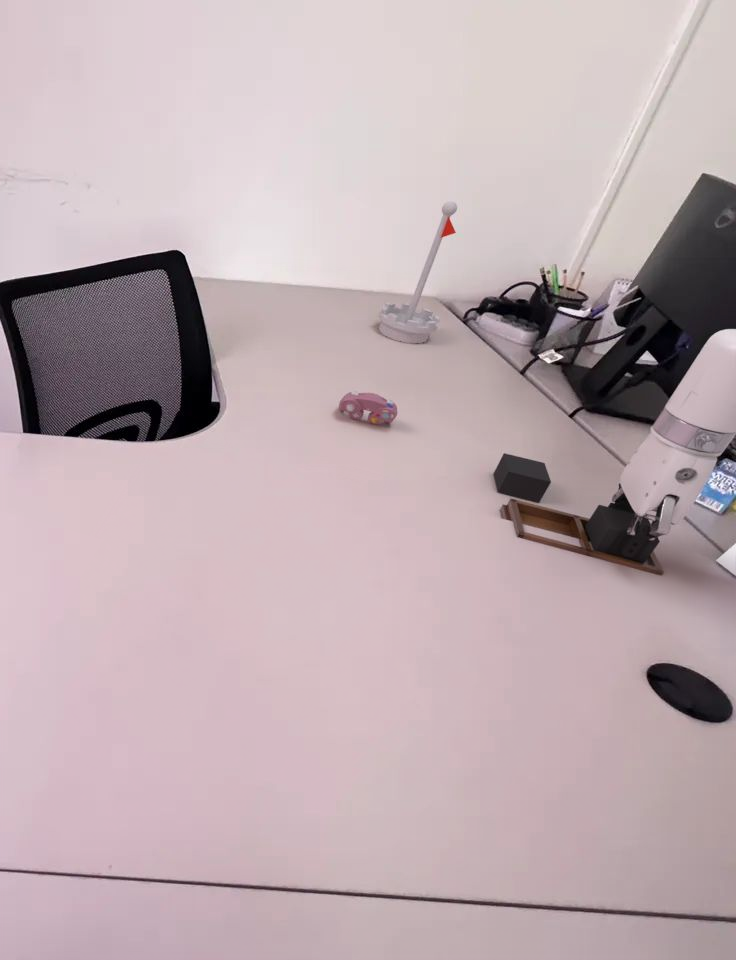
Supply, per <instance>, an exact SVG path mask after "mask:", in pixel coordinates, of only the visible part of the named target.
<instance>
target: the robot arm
mask: <svg viewBox="0 0 736 960" xmlns="http://www.w3.org/2000/svg"><path fill="white" fill-rule="evenodd" d="M649 431H650V433H649V434H648V435H647V436H646V438H645V439H643V442H642V443H641V444H640V445H639V447H638V448H637V450H636V451H635V452H634V454H633V455H632V457H631V458H630V459H629V461H628V462H627V464H626V465H625V467H624V469H623V471H622V473H621V475H620V477H619V483H618V489H617V491H616V492H615V493H614V494H613V495H612V498H611V502H609V504H608V506H607V507H610V508H614V509H618V510H622V511H626V512H630V513H634V516H633V518H632V521H631V523H630V525H629V528H628V530H623V531H622V532H621V534H620V535H619V537H618V538H617V540H616V541H615V542H614V544H613V545H612V547H611V548H610V550H609V553H610V555H613V556H617V557H621V558H624V559H628V560H632V561H636V560H637V559H638V557H639V556H640V555H641V553H642V552H643V550H644V549H645V548H646V546H647V545H648V544H649V542H650V541H653V540H654V539H655V538H657V537H658V538H659V537H662V536H667V535H668V534H669V533H670V532H671V527H672V525H673V526H677V525H679V524H680V523H681V522H682V521H683V520H684V519H685V517H686V516H687V514H688V513H689V512H690V510H691V508H692V506H693V505H694V504H695V502H696V501H697V499H698V497H699V496H700V494H701V493H702V491H703V489H704V488H705V486H706V484H707V483H708V481H709V479H710V477H711V475H712V473H713V471H714V469H715V467H716V464H717V462H718V457H720V456H721V455H722V454H723V453H724V452H725V450H726V449H727V447H728V446H729V445H730V443H732V440H733V439H734V438H735V436H736V328H726V329H722V330H719V331H717V332H715V333H714V334H712V335H711V336H710V337H709V338H708V339H707V341H706V342H705V344H704V345H703V346H702V348H701V349H700V352H699V353H698V354H697V355H696V358H695V359H694V361H693V362H692V364H691V365H690V367H689V368H688V370H687V371H686V373H685V375H683V377H682V379H681V381H680V382H679V383H678V385H677V387H676V388H675V390H674V391H673V393H672V395H671V396H670V397H669V399H668V401H667V402H666V404H665V406H664V407H663V408H662V409H661V412H659V414H658V416H657V418H656V419H655V421H654V423H653V424H652V425H651V426H650V429H649ZM647 512H656V513H655V515H654V514H651V513H647ZM642 518H644V519H648V520H649V521H651V522H650V524H651V525H642V526H639V525H640V523H641V521H642Z"/></svg>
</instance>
